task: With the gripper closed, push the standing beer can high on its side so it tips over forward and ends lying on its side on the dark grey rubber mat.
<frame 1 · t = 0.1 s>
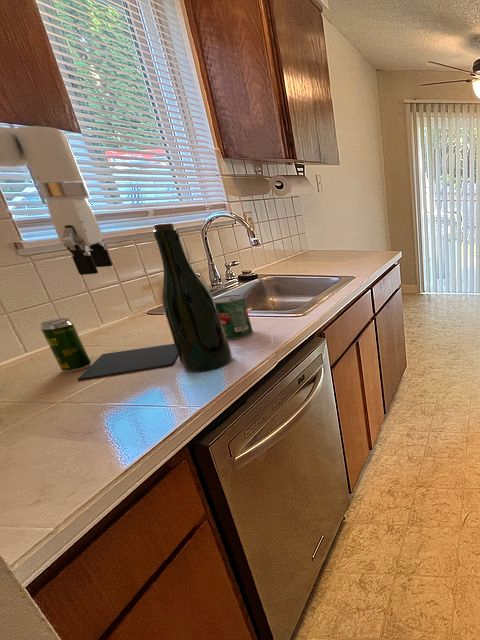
hand: (97, 270, 94), 22 cm above the counter, tool pointing down, fingers open, 9 cm apart
rubber mat: (136, 360, 101), on the counter
canned tomato: (238, 335, 117), on the counter
green wine bottle: (209, 364, 98), on the counter
beer can: (77, 368, 97), on the counter
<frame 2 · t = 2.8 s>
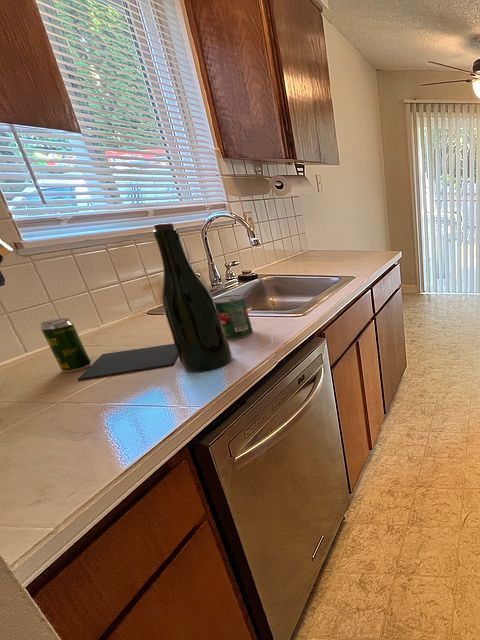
nothing on the counter moved.
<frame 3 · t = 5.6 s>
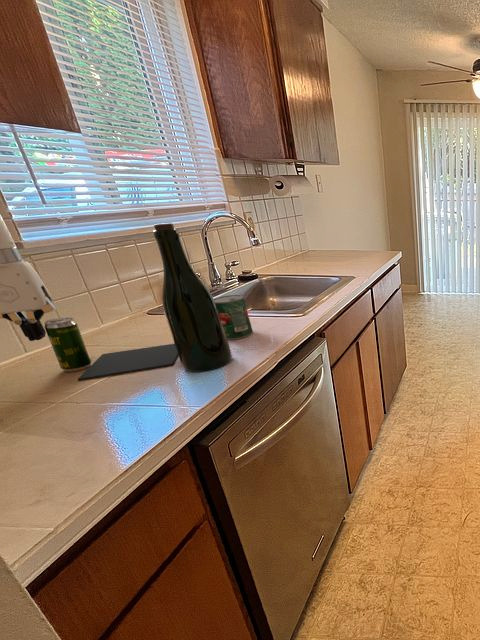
hand: (37, 338, 92), 9 cm above the counter, tool pointing down, fingers closed
beer can: (77, 368, 97), on the counter, touching gripper
everything else where it was.
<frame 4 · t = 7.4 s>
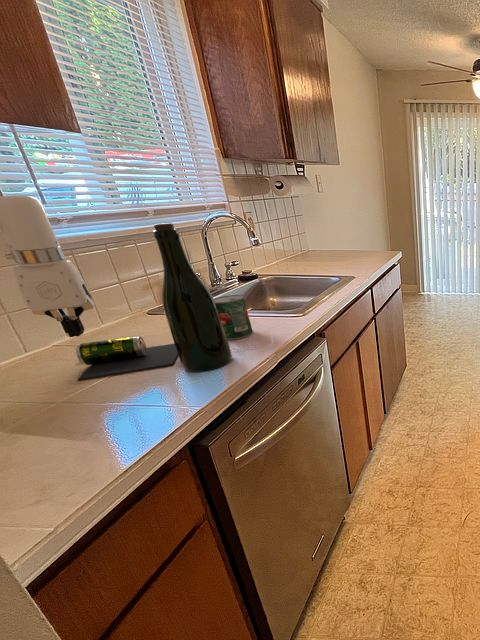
hand: (77, 334, 95), 8 cm above the counter, tool pointing down, fingers closed
beer can: (80, 355, 97), point 3 cm above the counter, touching rubber mat
everything else where it was.
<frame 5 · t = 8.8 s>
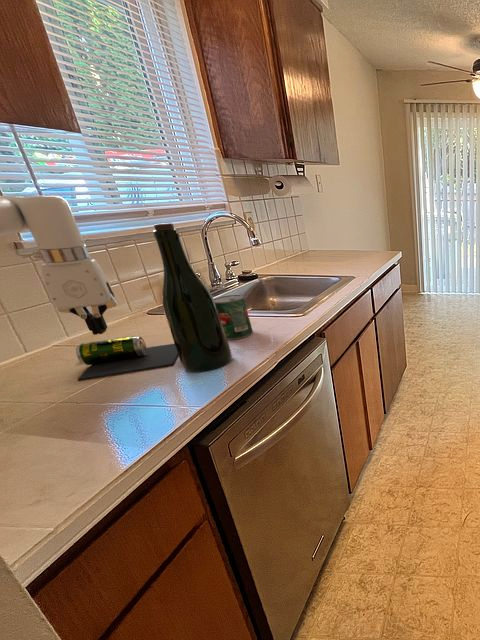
hand: (100, 332, 96), 8 cm above the counter, tool pointing down, fingers closed
nothing on the counter moved.
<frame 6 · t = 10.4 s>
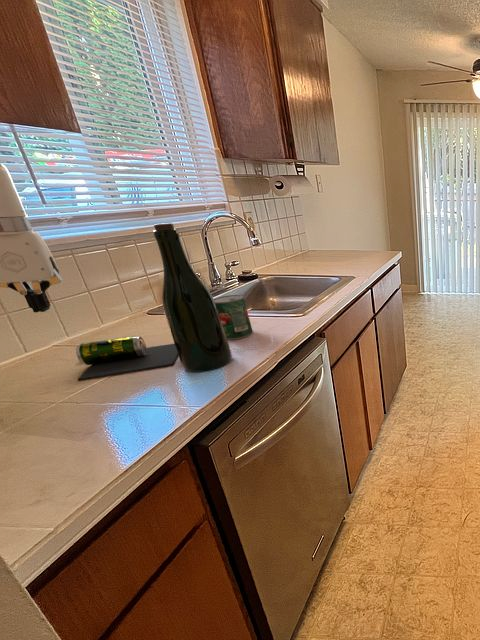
hand: (42, 310, 91), 15 cm above the counter, tool pointing down, fingers closed
nothing on the counter moved.
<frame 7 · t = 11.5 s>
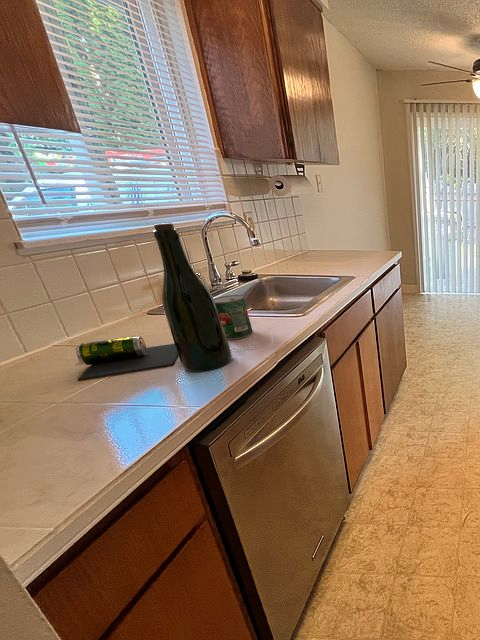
nothing on the counter moved.
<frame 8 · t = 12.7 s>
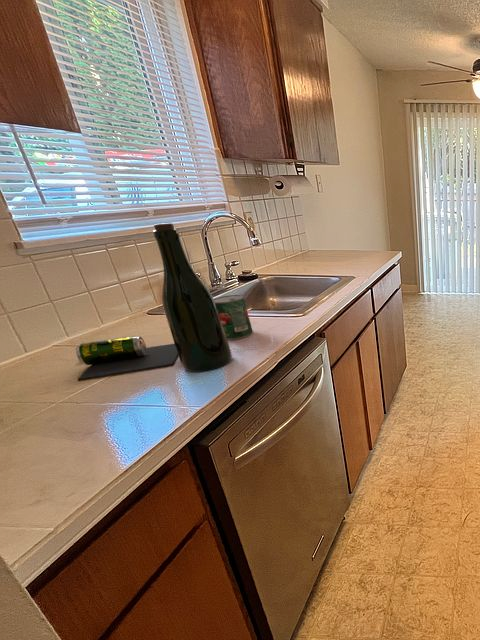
nothing on the counter moved.
at the end: beer can tilted 90°; beer can touching rubber mat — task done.
